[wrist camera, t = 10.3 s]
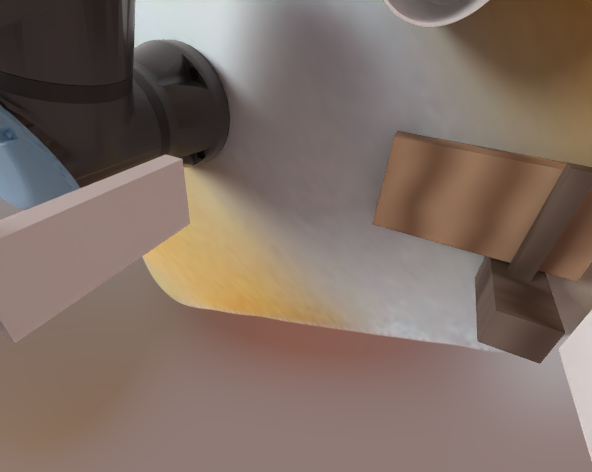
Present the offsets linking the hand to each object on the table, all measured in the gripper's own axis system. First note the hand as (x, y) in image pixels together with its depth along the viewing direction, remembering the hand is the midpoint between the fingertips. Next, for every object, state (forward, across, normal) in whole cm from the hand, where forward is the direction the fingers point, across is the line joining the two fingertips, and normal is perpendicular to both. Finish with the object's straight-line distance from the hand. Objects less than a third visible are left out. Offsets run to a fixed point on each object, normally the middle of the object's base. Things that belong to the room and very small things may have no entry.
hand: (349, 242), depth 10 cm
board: (+27, +8, -8) cm, 29 cm away
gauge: (+26, +13, -10) cm, 31 cm away
